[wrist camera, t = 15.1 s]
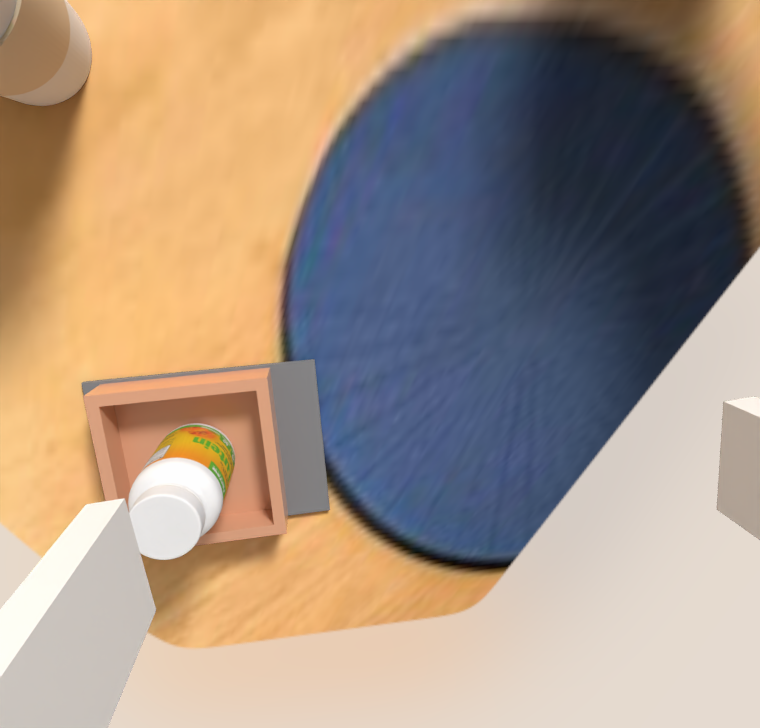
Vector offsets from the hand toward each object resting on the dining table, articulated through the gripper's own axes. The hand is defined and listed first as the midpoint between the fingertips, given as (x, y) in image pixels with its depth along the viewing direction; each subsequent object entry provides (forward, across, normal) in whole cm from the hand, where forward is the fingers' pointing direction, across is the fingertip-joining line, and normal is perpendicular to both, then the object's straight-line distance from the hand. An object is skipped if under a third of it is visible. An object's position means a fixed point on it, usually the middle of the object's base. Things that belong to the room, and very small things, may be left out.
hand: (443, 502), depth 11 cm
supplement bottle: (+26, -13, -9) cm, 31 cm away
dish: (+27, -13, -9) cm, 31 cm away
